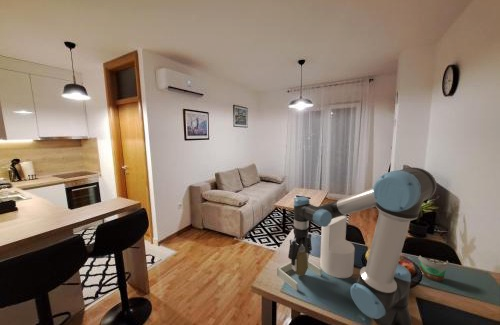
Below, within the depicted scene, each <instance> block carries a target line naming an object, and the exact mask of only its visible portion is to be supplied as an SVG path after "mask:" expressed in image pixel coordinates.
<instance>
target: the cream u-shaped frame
mask: <svg viewBox="0 0 500 325" xmlns="http://www.w3.org/2000/svg"><path fill="white" fill-rule="evenodd" d="M307 269H308V270H311V272H313V273H314V274H316V275H317V276H319V277H322V274H323V273H322V272H323V270H322V268H321V267H320V266H318V265H316V264H315V263H313V262H312V261H310V260H308V268H307ZM291 270H293V269H292V264H291V261H289V262H287V263H285V264H283V265H281V266H279V267H277V268H276V275H277V276H278V277H279V278H280V279H281V280H283V281H284V282H285V283H286V284H287V285H289V286H290V288H292V289H293V290H295V292H297V291H298V290H299V283H298V281H296V280H295V279H294V278H293V277H291V276H290V275H289V274H287V273H286V272H289V271H291Z"/></svg>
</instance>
